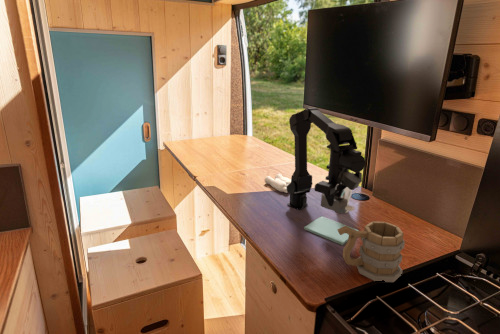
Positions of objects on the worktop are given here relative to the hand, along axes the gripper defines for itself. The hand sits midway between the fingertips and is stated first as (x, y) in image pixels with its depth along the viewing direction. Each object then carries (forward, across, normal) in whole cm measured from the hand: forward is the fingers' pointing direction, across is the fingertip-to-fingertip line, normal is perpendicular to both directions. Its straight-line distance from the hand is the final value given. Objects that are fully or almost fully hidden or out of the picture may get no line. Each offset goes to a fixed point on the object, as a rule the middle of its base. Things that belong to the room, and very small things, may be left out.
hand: (333, 204), depth 126 cm
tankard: (+11, -13, -20) cm, 26 cm away
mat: (+11, 0, 0) cm, 11 cm away
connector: (+1, 0, -1) cm, 2 cm away
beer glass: (+11, +18, +6) cm, 22 cm away
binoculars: (+12, +20, +40) cm, 46 cm away
